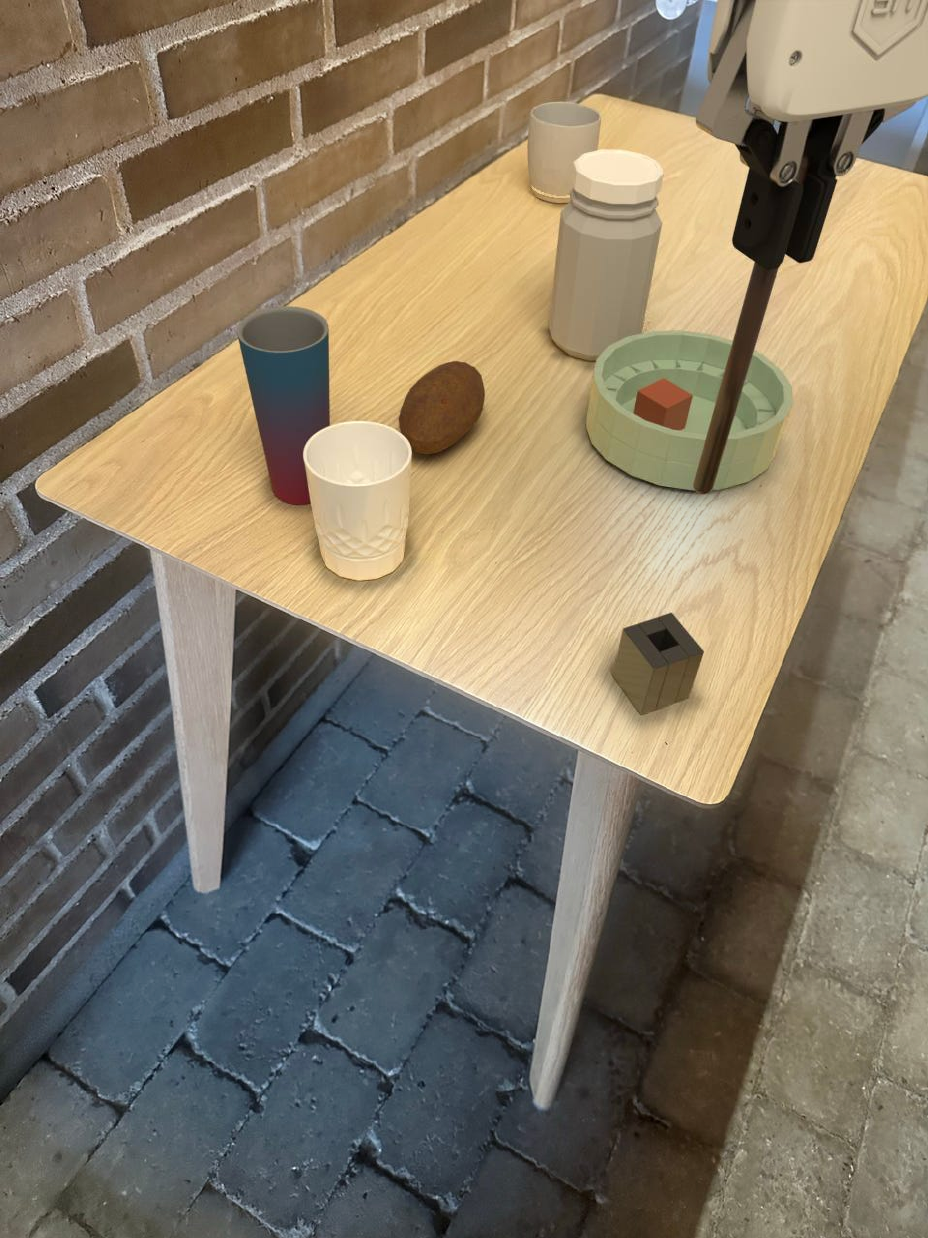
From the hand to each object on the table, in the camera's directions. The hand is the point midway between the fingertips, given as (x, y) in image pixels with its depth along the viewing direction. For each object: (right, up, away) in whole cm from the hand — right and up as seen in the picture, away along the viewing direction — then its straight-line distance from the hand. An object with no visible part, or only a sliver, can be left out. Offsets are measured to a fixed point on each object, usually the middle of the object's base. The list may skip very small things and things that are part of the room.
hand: (771, 252), depth 46 cm
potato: (-17, -1, +41) cm, 44 cm away
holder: (-2, -23, +21) cm, 31 cm away
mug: (-2, +40, +81) cm, 90 cm away
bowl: (+5, -1, +42) cm, 42 cm away
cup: (-29, -7, +35) cm, 46 cm away
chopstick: (-1, -10, +11) cm, 15 cm away
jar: (-1, +11, +54) cm, 55 cm away
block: (+3, 0, +42) cm, 42 cm away
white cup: (-23, -13, +30) cm, 40 cm away
